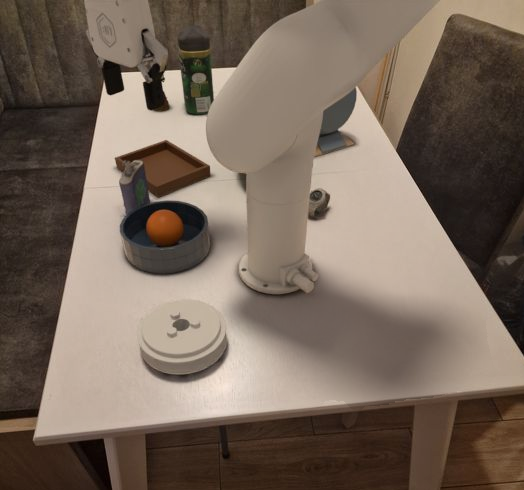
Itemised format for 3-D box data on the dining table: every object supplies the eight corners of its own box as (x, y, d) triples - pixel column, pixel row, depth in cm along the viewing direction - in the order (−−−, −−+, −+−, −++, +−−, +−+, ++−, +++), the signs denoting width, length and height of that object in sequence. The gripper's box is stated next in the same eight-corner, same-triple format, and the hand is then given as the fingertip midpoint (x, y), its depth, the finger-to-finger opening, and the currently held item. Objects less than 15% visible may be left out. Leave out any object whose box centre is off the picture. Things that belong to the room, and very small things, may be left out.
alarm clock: (332, 128, 122) (341, 49, 109) (357, 143, 117) (370, 62, 104) (286, 142, 117) (289, 60, 104) (309, 158, 112) (316, 74, 98)
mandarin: (192, 244, 87) (188, 213, 82) (162, 258, 84) (156, 227, 80) (172, 229, 90) (167, 198, 86) (142, 242, 88) (136, 211, 83)
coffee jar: (183, 102, 133) (174, 23, 119) (212, 100, 134) (206, 21, 120) (186, 116, 127) (177, 34, 113) (216, 114, 128) (211, 33, 114)
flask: (138, 227, 92) (127, 174, 84) (124, 226, 92) (111, 173, 85) (153, 202, 98) (143, 150, 90) (139, 201, 99) (128, 149, 91)
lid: (134, 378, 67) (127, 354, 64) (148, 316, 76) (142, 291, 72) (225, 378, 67) (223, 355, 64) (229, 316, 76) (227, 291, 72)
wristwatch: (302, 216, 95) (304, 193, 91) (319, 203, 98) (321, 180, 95) (317, 222, 94) (319, 199, 90) (334, 209, 97) (337, 186, 93)
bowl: (226, 249, 88) (225, 225, 84) (155, 285, 81) (150, 261, 77) (178, 214, 95) (175, 191, 92) (109, 244, 88) (103, 221, 85)
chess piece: (172, 109, 130) (166, 68, 122) (154, 113, 128) (147, 71, 121) (165, 103, 133) (160, 63, 125) (148, 107, 131) (141, 66, 123)
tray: (210, 176, 106) (209, 165, 104) (158, 197, 100) (156, 186, 98) (167, 149, 114) (166, 139, 112) (116, 168, 108) (114, 157, 106)
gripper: (49, -39, 67) (83, 94, 79) (131, -22, 59) (154, 121, 72) (93, -46, 71) (119, 81, 83) (175, -32, 63) (190, 106, 76)
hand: (135, 99), depth 77 cm, fingers open, 9 cm apart
